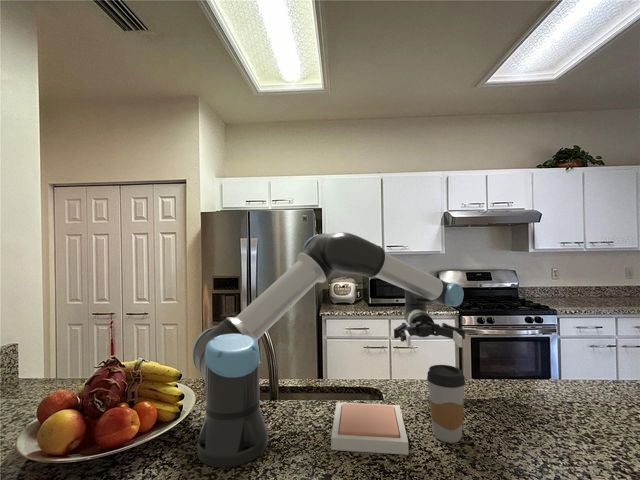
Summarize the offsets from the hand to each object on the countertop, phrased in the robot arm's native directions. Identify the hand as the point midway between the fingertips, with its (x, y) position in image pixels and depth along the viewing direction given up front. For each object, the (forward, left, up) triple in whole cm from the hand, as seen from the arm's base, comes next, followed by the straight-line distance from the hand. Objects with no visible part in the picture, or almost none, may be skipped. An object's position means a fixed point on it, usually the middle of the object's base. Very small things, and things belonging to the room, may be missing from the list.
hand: (434, 341), depth 90 cm
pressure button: (-18, -13, -16) cm, 27 cm away
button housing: (-18, -13, -18) cm, 29 cm away
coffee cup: (0, -13, -18) cm, 22 cm away
